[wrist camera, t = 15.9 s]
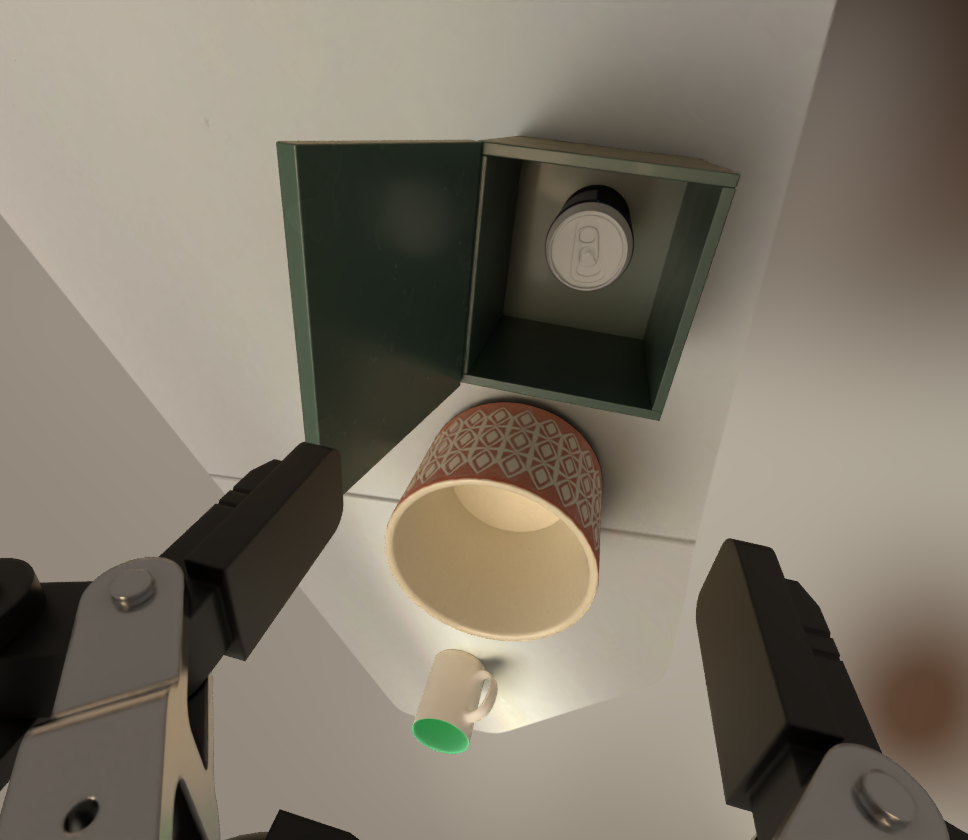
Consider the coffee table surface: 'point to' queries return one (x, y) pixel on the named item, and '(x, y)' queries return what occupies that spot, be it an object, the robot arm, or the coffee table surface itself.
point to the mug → (452, 702)
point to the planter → (501, 525)
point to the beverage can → (590, 239)
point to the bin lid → (377, 284)
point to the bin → (588, 314)
